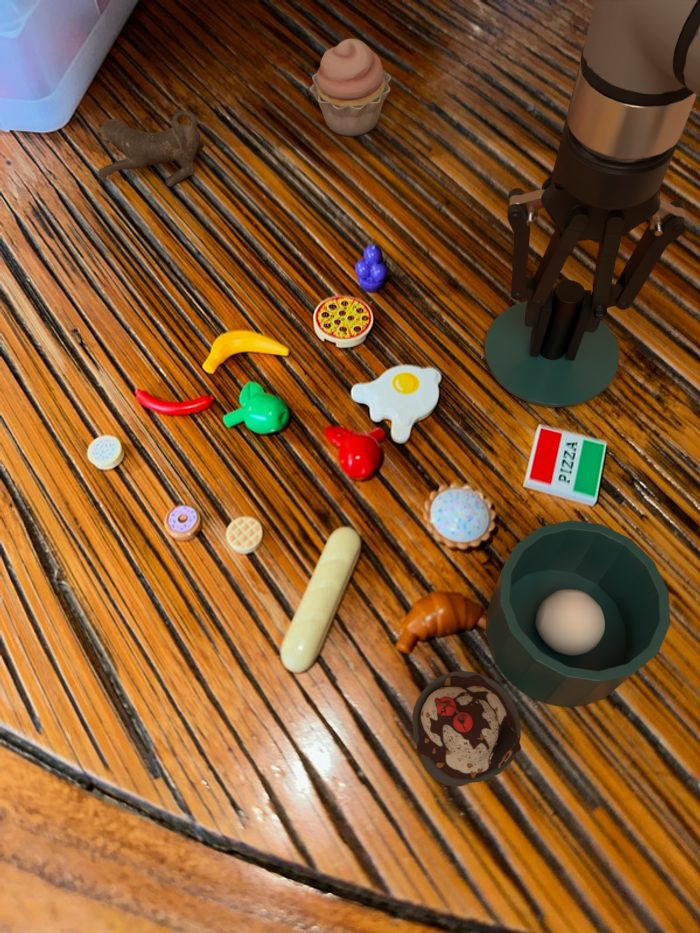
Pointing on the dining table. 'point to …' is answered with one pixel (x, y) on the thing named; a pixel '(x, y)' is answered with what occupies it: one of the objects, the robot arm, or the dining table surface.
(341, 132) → the cupcake
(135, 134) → the dog figurine
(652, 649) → the pot
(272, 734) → the dining table surface
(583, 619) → the beige ball
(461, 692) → the sundae
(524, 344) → the lid
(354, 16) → the dining table surface
